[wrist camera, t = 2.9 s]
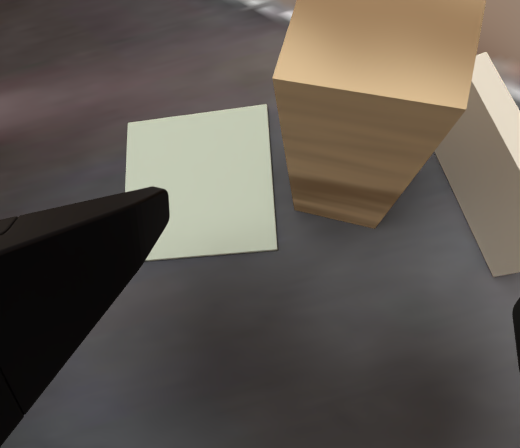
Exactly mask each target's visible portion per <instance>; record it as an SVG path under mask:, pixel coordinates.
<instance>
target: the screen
mask: <svg viewBox="0 0 520 448" xmlns="http://www.w3.org/2000/svg"><path fill="white" fill-rule="evenodd" d="M434 152H435V154H436V156H437V158H438V160H439V162H440V164H441V167H442V169H443V171H444V173H445V175H446V177H447V179H448V181H449V184H450V186H451V188H452V190H453V192H454V194H455V196H456V199H457V201H458V203H459V205H460V207H461V209H462V211H463V214H464V216H465V218H466V220H467V222H468V224H469V226H470V229H471V231H472V233H473V235H474V237H475V239H476V241H477V244H478V246H479V248H480V250H481V252H482V254H483V256H484V259H485V261H486V263H487V265H488V267H489V269H490V271H491V273H492V276H493V277H496V276H502V275H507V274H512V273H518V272H520V111H519V109H518V107H517V105H516V104H515V102H514V100H513V98H512V97H511V95H510V93H509V91H508V89H507V88H506V86H505V84H504V82H503V81H502V79H501V77H500V75H499V74H498V72H497V70H496V68H495V66H494V65H493V63H492V61H491V59H490V58H489V56H488V54H487V52H485V53H482V54H479V55H476V59H475V64H474V70H473V75H472V81H471V86H470V92H469V97H468V103H467V108H466V110H465V112H464V113H463V114H462V116H461V117H460V118H459V120H458V121H457V122H456V124H455V125H454V126H453V127H452V129H451V130H450V131H449V133H448V134H447V135H446V137H445V138H444V139H443V140H442V142H441V143H440V144H439V146H438V147H437V148H436V150H435V151H434Z"/></svg>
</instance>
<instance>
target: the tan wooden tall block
mask: <svg viewBox="0 0 520 448" xmlns="http://www.w3.org/2000/svg"><path fill="white" fill-rule="evenodd" d="M485 3H486V0H297V2H296V5H295V8H294V11H293V14H292V17H291V21H290V24H289V27H288V30H287V33H286V37H285V40H284V43H283V46H282V50H281V53H280V56H279V59H278V62H277V66H276V69H275V72H274V75H273V84H274V90H275V96H276V102H277V108H278V114H279V120H280V126H281V132H282V138H283V144H284V150H285V156H286V162H287V168H288V174H289V180H290V186H291V192H292V198H293V204H294V210H297V211H301V212H306V213H310V214H314V215H318V216H323V217H327V218H331V219H335V220H340V221H344V222H348V223H352V224H357V225H361V226H365V227H369V228H374V229H375V228H376V227H377V225H378V224H379V223H380V221H381V220H382V219H383V217H384V216H385V215H386V214H387V212H388V211H389V210H390V208H391V207H392V206H393V204H394V203H395V202H396V200H397V199H398V198H399V197H400V195H401V194H402V193H403V191H404V190H405V189H406V187H407V186H408V185H409V184H410V182H411V181H412V180H413V178H414V177H415V176H416V174H417V173H418V172H419V170H420V169H421V168H422V167H423V165H424V164H425V163H426V161H427V160H428V159H429V157H430V156H431V155H432V154H433V152H434V151H435V150H436V148H437V147H438V146H439V144H440V143H441V142H442V140H443V139H444V138H445V137H446V135H447V134H448V133H449V131H450V130H451V129H452V127H453V126H454V125H455V124H456V122H457V121H458V120H459V118H460V117H461V116H462V114H463V113H464V112H465V110H466V108H467V103H468V97H469V92H470V86H471V81H472V75H473V70H474V64H475V59H476V53H477V48H478V42H479V37H480V31H481V26H482V20H483V15H484V9H485Z"/></svg>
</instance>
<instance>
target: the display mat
mask: <svg viewBox="0 0 520 448" xmlns="http://www.w3.org/2000/svg"><path fill="white" fill-rule="evenodd" d="M152 186H154V187H158V188H163V189H165V190H166V191H167V192H168V195H169V211H170V218H169V222H168V224H167V226H166V228H165V229H164V231H163V232H162V234H161V236H160V237H159V239H158V241H157V242H156V244H155V245H154V247H153V249H152V250H151V252H150V254H149V255H148V257H147V258H146V260H145V261H154V260H166V259H178V258H191V257H203V256H215V255H227V254H239V253H251V252H263V251H275V250H278V248H277V234H276V220H275V206H274V192H273V178H272V164H271V151H270V137H269V123H268V109H267V104H264V105H257V106H249V107H242V108H235V109H227V110H220V111H212V112H205V113H197V114H190V115H183V116H175V117H168V118H160V119H153V120H146V121H138V122H131V123H128V134H127V159H126V184H125V192H129V191H133V190H138V189H142V188H147V187H152Z"/></svg>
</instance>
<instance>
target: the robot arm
mask: <svg viewBox="0 0 520 448" xmlns="http://www.w3.org/2000/svg"><path fill="white" fill-rule="evenodd" d="M169 218H170V211H169V195H168V192H167V191H166V190H165V189H163V188H158V187H154V186H152V187H147V188H142V189H138V190H133V191H129V192H124V193H120V194H115V195H111V196H106V197H102V198H97V199H93V200H88V201H84V202H79V203H75V204H70V205H66V206H61V207H56V208H52V209H47V210H43V211H38V212H34V213H29V214H25V215H20V216H19V217H11V218H7V219H2V220H0V447H1V445H2V444H3V443H4V441H5V440H6V439H7V438H8V436H9V435H10V434H11V433H12V431H13V430H14V429H15V427H16V426H17V425H18V424H19V422H20V421H21V420H22V419H23V417H24V415H25V414H26V413H27V412H28V410H29V409H30V408H31V407H32V405H33V404H34V403H35V402H36V400H37V399H38V398H39V396H40V395H41V394H42V393H43V391H44V390H45V389H46V387H47V386H48V385H49V384H50V382H51V381H52V380H53V379H54V377H55V376H56V375H57V373H58V372H59V371H60V370H61V368H62V367H63V366H64V364H65V363H66V362H67V361H68V359H69V358H70V357H71V356H72V354H73V353H74V352H75V350H76V349H77V348H78V347H79V345H80V344H81V343H82V342H83V340H84V339H85V338H86V336H87V335H88V334H89V333H90V331H91V330H92V329H93V327H94V326H95V325H96V324H97V322H98V321H99V320H100V319H101V317H102V316H103V315H104V313H105V312H106V311H107V310H108V308H109V307H110V306H111V304H112V303H113V302H114V301H115V299H116V298H117V297H118V296H119V294H120V293H121V292H122V290H123V289H124V288H125V287H126V285H127V284H128V283H129V281H130V280H131V279H132V278H133V276H134V275H135V274H136V273H137V271H138V270H139V269H140V267H141V266H142V264H143V263H144V261H145V260H146V258H147V257H148V255H149V254H150V252H151V250H152V249H153V247H154V245H155V244H156V242H157V241H158V239H159V237H160V236H161V234H162V232H163V231H164V229H165V228H166V226H167V224H168V222H169ZM513 323H514V332H515V340H516V348H517V356H518V364H519V371H520V298H519V299H518V301H517V302H516V304H515V305H514V308H513Z"/></svg>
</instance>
